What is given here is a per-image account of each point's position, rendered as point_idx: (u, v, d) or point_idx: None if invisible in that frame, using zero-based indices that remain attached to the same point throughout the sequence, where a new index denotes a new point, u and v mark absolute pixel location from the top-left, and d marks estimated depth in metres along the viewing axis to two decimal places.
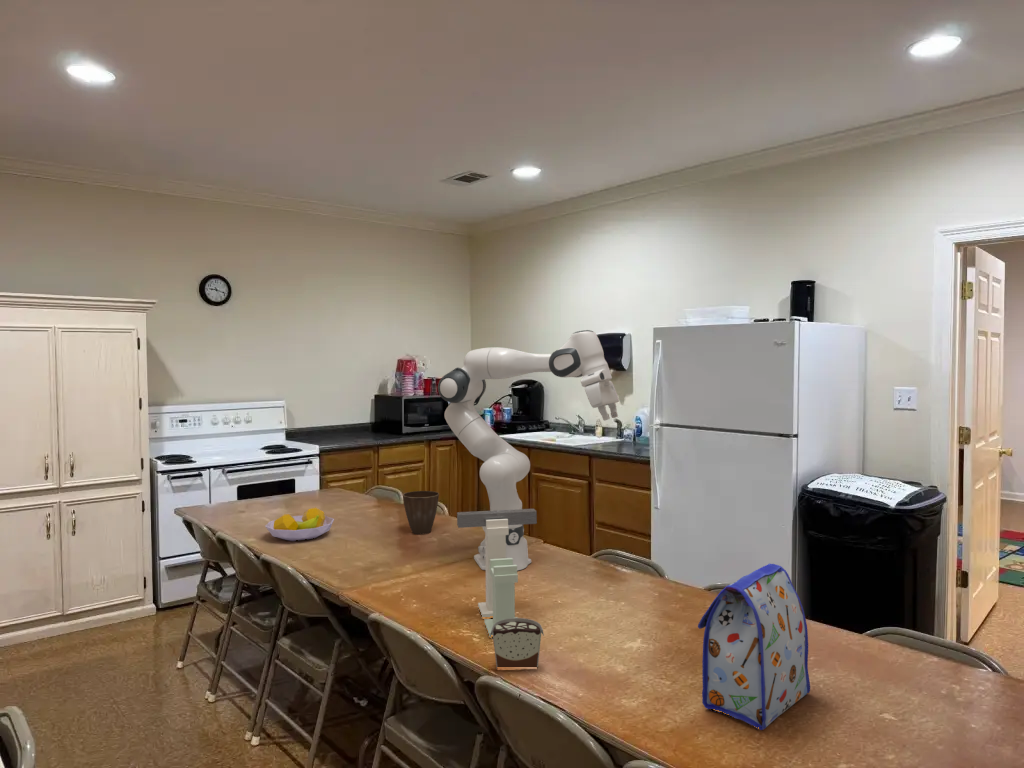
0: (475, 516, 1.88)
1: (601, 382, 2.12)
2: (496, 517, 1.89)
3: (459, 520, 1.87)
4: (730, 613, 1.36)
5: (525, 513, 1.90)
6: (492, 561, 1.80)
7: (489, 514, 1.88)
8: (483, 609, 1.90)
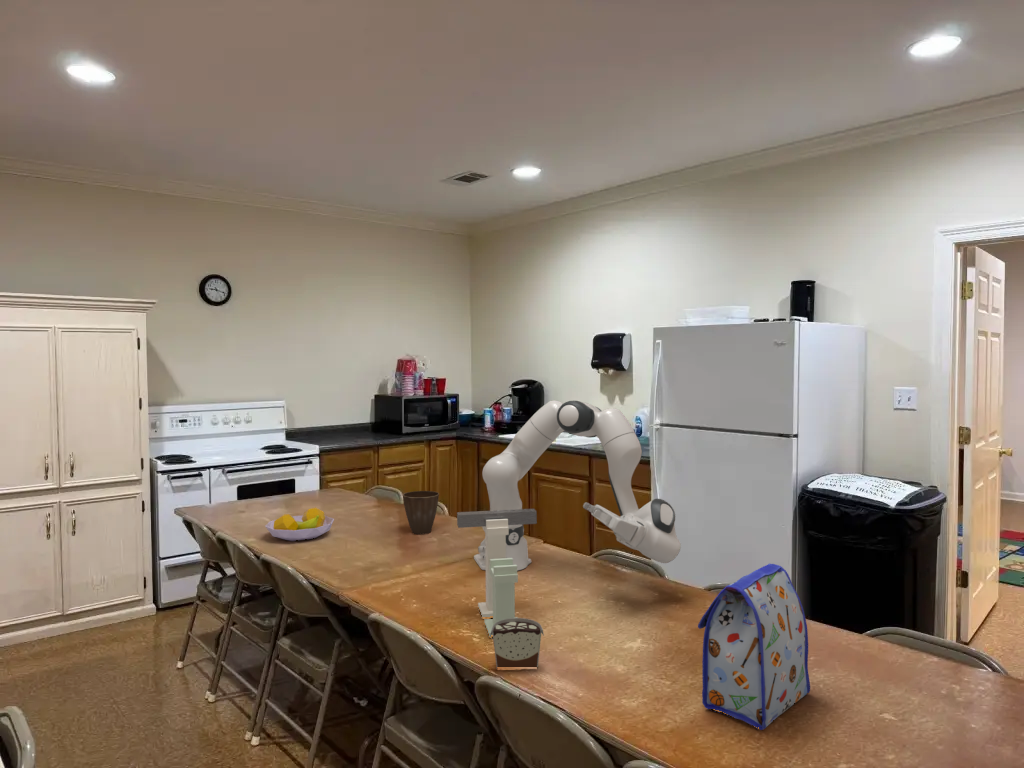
0: (475, 516, 1.88)
1: (626, 540, 1.90)
2: (496, 517, 1.89)
3: (459, 520, 1.87)
4: (730, 613, 1.36)
5: (525, 513, 1.90)
6: (492, 561, 1.80)
7: (489, 514, 1.88)
8: (483, 609, 1.90)
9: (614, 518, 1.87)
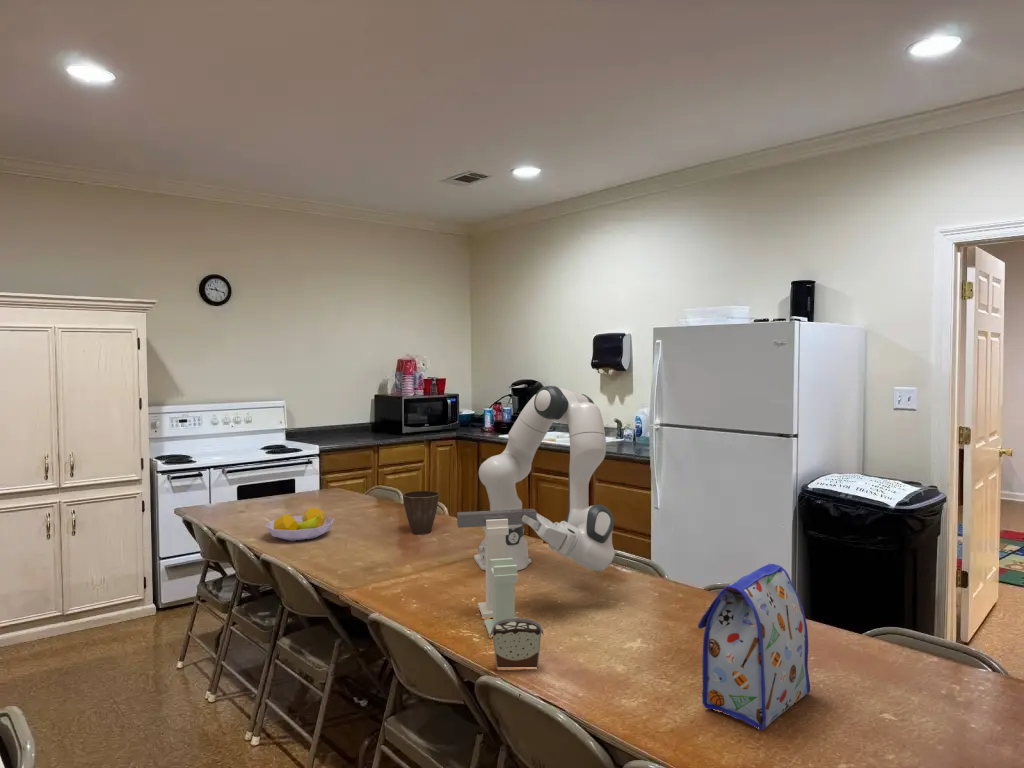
0: (475, 516, 1.88)
1: (556, 548, 1.87)
2: (496, 517, 1.89)
3: (459, 520, 1.87)
4: (730, 613, 1.36)
5: (525, 513, 1.90)
6: (492, 561, 1.80)
7: (489, 514, 1.88)
8: (483, 609, 1.90)
9: (543, 525, 1.84)
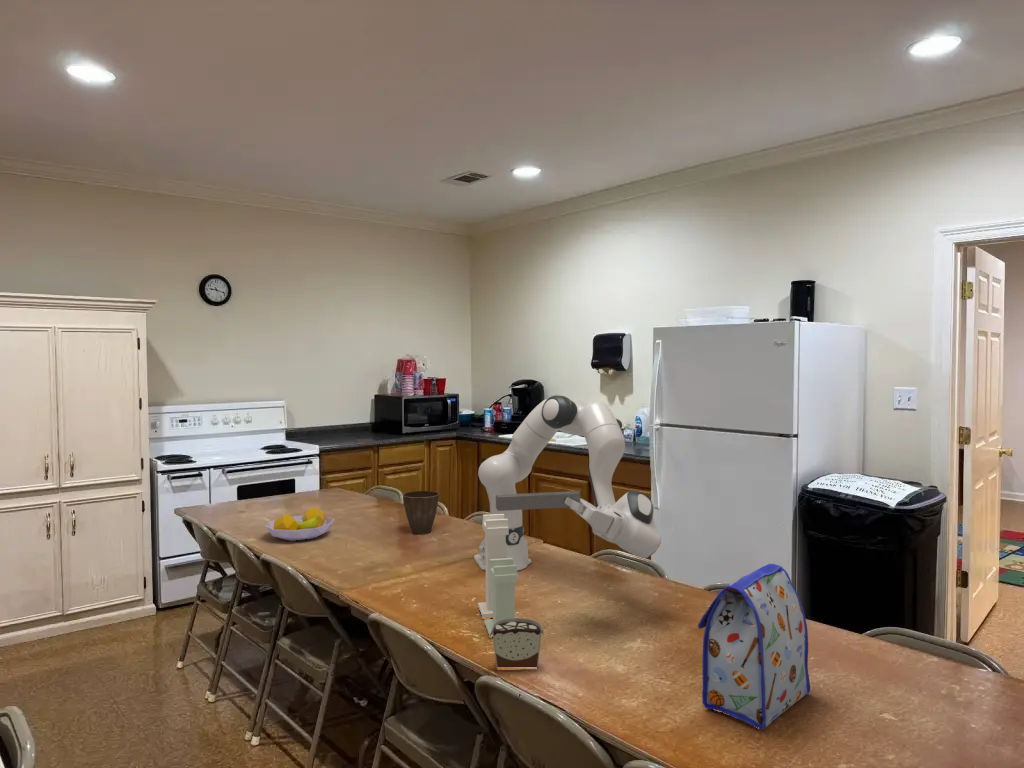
0: (516, 499, 1.76)
1: (602, 532, 1.76)
2: (537, 500, 1.77)
3: (499, 503, 1.76)
4: (730, 613, 1.36)
5: (568, 495, 1.79)
6: (492, 561, 1.80)
7: (530, 496, 1.77)
8: (483, 609, 1.90)
9: (589, 508, 1.73)
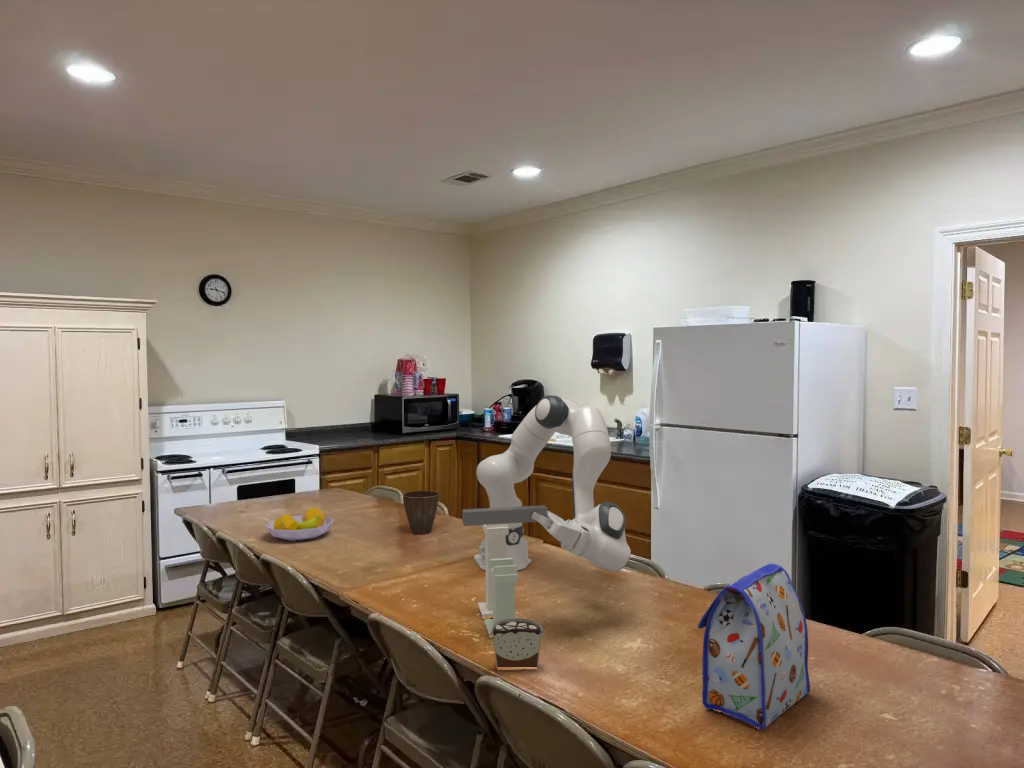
0: (482, 513, 1.75)
1: (569, 547, 1.74)
2: (504, 514, 1.76)
3: (465, 518, 1.74)
4: (730, 613, 1.36)
5: (535, 510, 1.77)
6: (492, 561, 1.80)
7: (497, 511, 1.75)
8: (483, 609, 1.90)
9: (555, 523, 1.72)
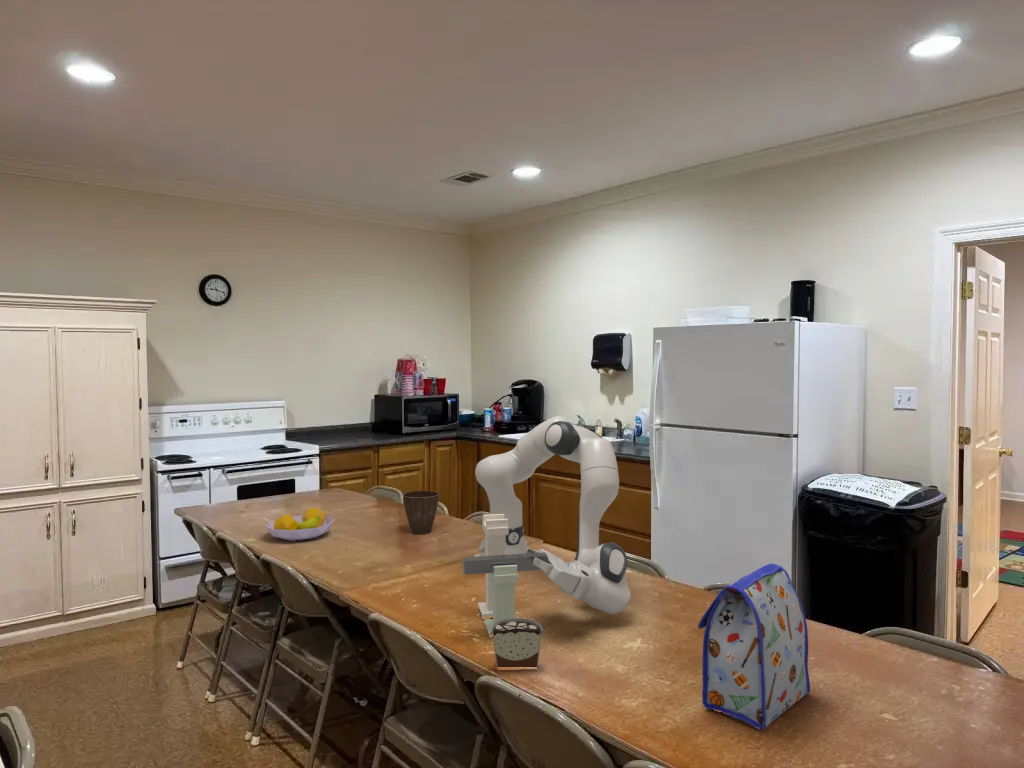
0: (483, 562, 1.75)
1: None
2: (504, 563, 1.76)
3: (465, 566, 1.74)
4: (730, 613, 1.36)
5: None
6: None
7: (497, 560, 1.76)
8: (483, 609, 1.90)
9: (555, 568, 1.72)
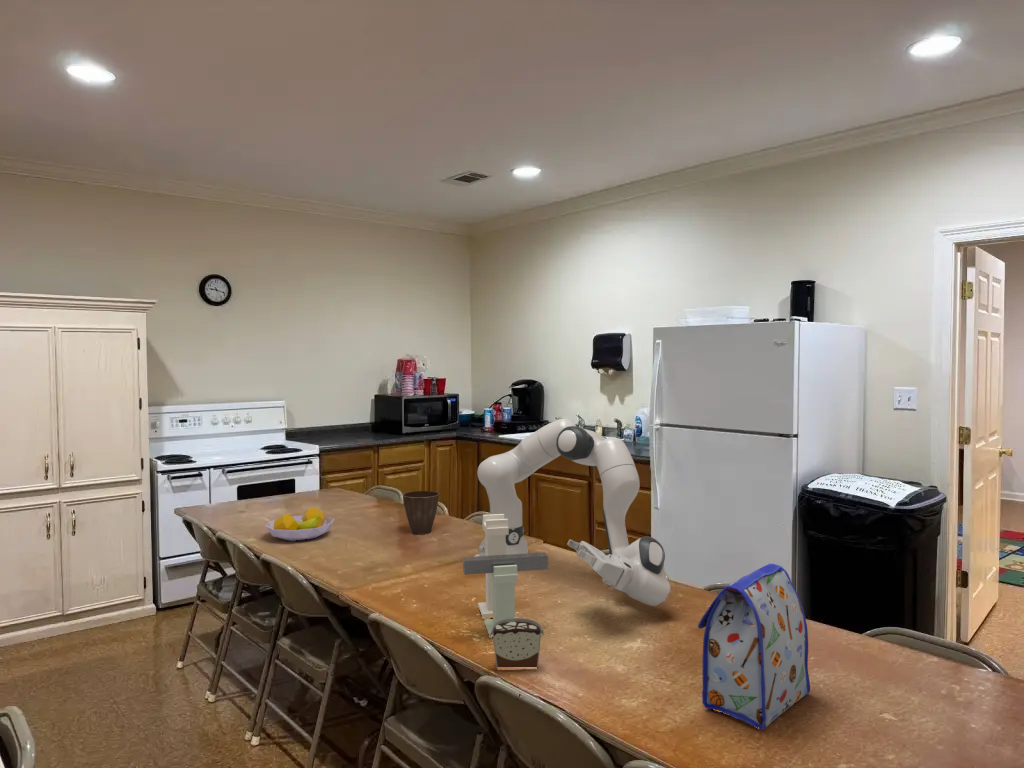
0: (483, 562, 1.75)
1: (611, 583, 1.78)
2: (504, 563, 1.76)
3: (465, 566, 1.74)
4: (730, 613, 1.36)
5: (536, 558, 1.78)
6: None
7: (497, 560, 1.76)
8: (483, 609, 1.90)
9: (599, 560, 1.75)
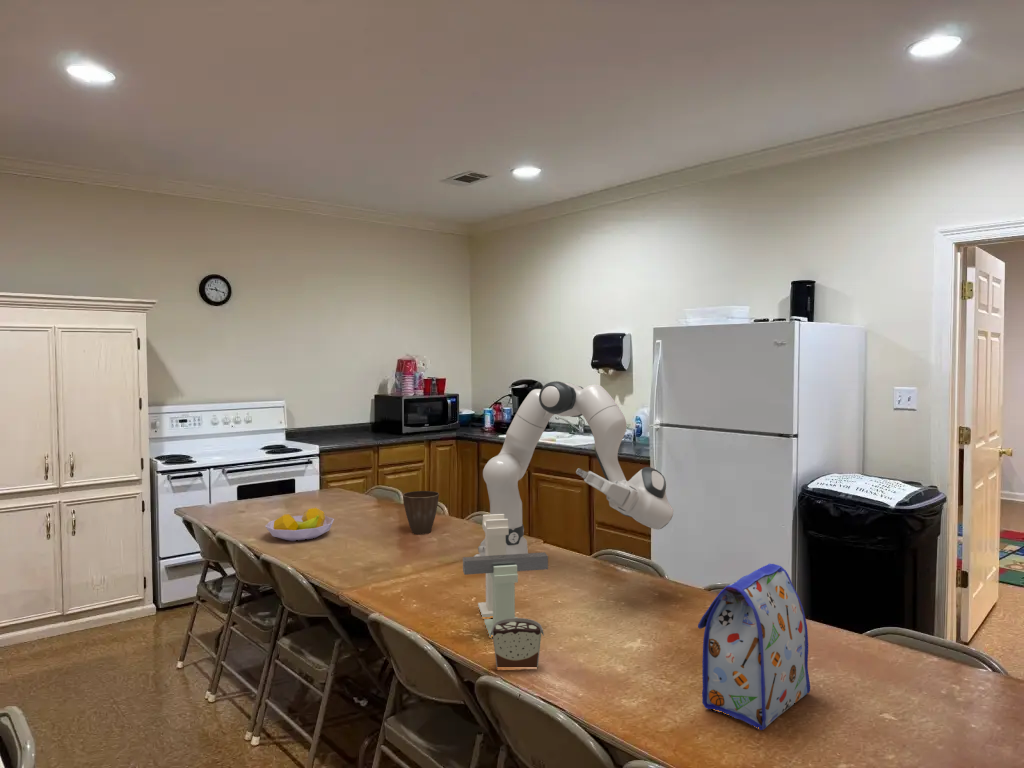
0: (483, 562, 1.75)
1: (618, 504, 1.90)
2: (504, 563, 1.76)
3: (465, 566, 1.74)
4: (730, 613, 1.36)
5: (536, 558, 1.78)
6: None
7: (497, 560, 1.76)
8: (483, 609, 1.90)
9: (606, 482, 1.87)
